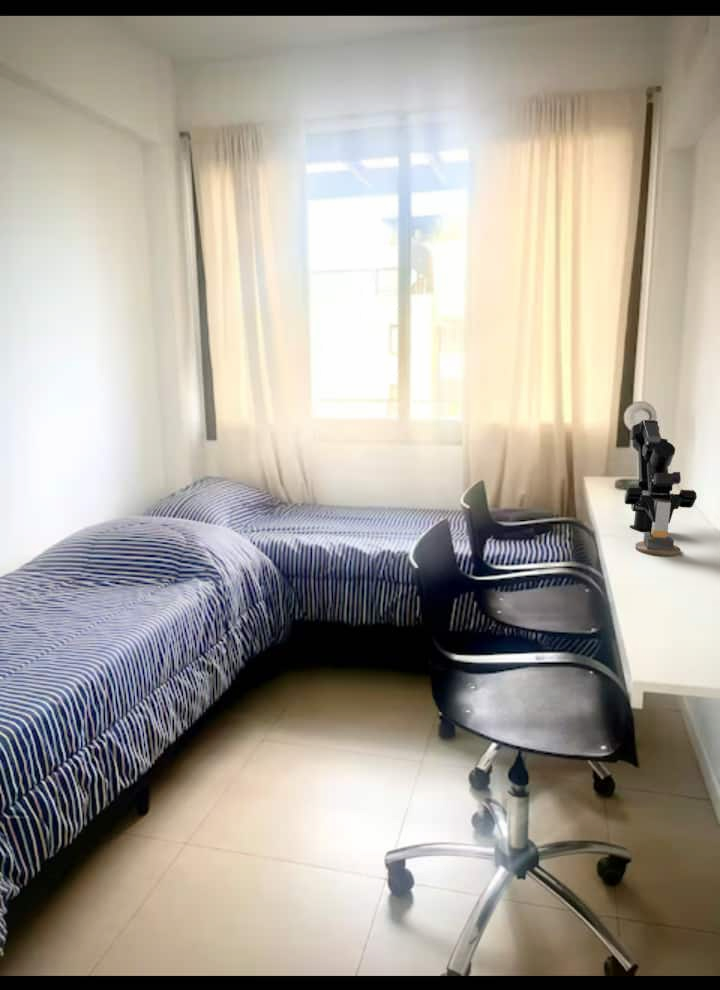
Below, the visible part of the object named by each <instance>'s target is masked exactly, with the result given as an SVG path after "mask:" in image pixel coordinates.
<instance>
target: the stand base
mask: <svg viewBox="0 0 720 990" xmlns="http://www.w3.org/2000/svg"><path fill="white" fill-rule="evenodd" d="M643 534H644V535H643V541H638V542H636V543H635V550H636V551H638V552H640V553H643V554H646V555H650V556H657V557H675V556H679V555H680V553H681V547H679V546H678V545H675V541H674V539H673V537H672V536H671V534H668V535H667V539H653V538H652V537H651V532H643Z"/></svg>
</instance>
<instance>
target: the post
mask: <svg viewBox="0 0 720 990" xmlns="http://www.w3.org/2000/svg"><path fill="white" fill-rule="evenodd" d="M670 506H671V502H670V501H669V500H659V499H655V503H654V512H655V522H652V529H651V531H650V533H651V537H652V538H653V539H667V535H669V534H668V533H669V532H668V530H669V524H670V523H669V515H670Z"/></svg>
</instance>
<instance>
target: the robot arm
mask: <svg viewBox="0 0 720 990" xmlns="http://www.w3.org/2000/svg"><path fill="white" fill-rule="evenodd" d="M629 439H630V441H631V442H632V443H631V444H632V448H633V449H635V451H636V452H637V459H638V462H637V463H638V477H639V482H638V484H637V486H627V488H626V490H625V494H624V504H625V505H630V508H631V509H630V510H632V512H634V513H635V514H634V521H633V522H634V523H633V524H630V525H629V528H631V529H633V530H636V531H638V532H640V533H641V532H642V533H649V532H651V529H652V522H655V512H654V503H655V499H659V500H669V501H670V502H671V506H670V515H669V524H670V523H671V520H672V516H673V514H674V511H675V510H679V508H685V509H686V508H688V509H689V508H693V506H694V504H695V502H696V500H697V498H698V497H697V492H696V491H695V490H694V489H680V491H679V493H671V492H672V491H673V486H674V485H678V484H680V483H681V482H682V481H681V477H682V476H681V472H680V471H673V472H672V473H670V472H669V467H670V465H671V463H672V461H673V457H674V456H675V453H676V447H675V446H674V445H673V444H672V443H671V442H668V439H667V438H663V437H662V436H661V433H660V426H659V423H658V421H657V420H655V419H643V420H640V422H638V423H636V424H635V425H632V428H631V430H630V436H629Z"/></svg>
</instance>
